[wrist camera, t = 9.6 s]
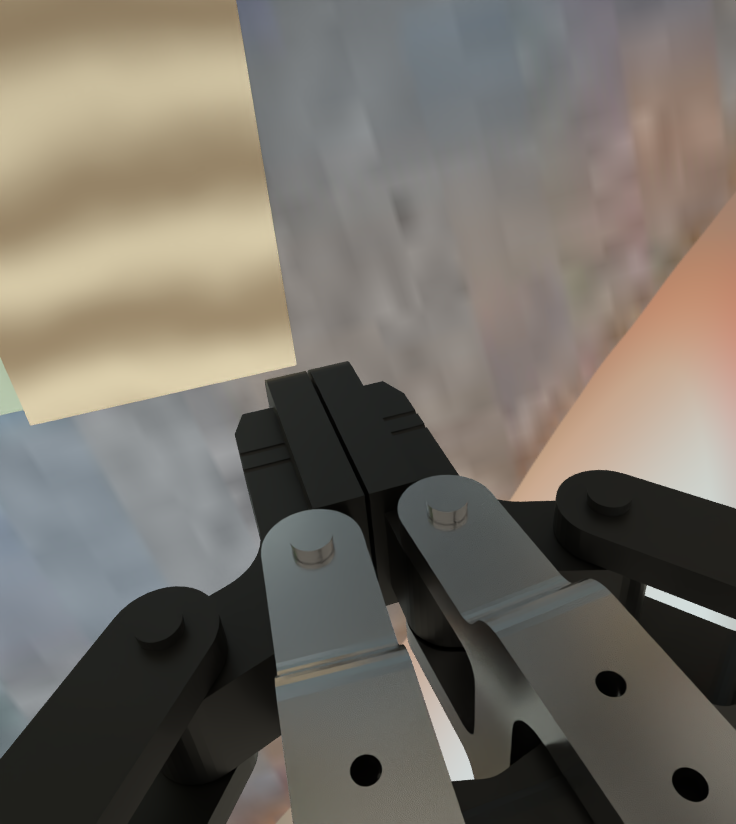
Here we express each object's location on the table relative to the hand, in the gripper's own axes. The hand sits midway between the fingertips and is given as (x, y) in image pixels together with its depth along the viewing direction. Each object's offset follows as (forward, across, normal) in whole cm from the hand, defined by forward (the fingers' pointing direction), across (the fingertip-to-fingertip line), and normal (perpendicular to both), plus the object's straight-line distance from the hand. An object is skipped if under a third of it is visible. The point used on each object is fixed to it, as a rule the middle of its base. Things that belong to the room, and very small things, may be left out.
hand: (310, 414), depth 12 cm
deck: (+27, +4, +1) cm, 27 cm away
